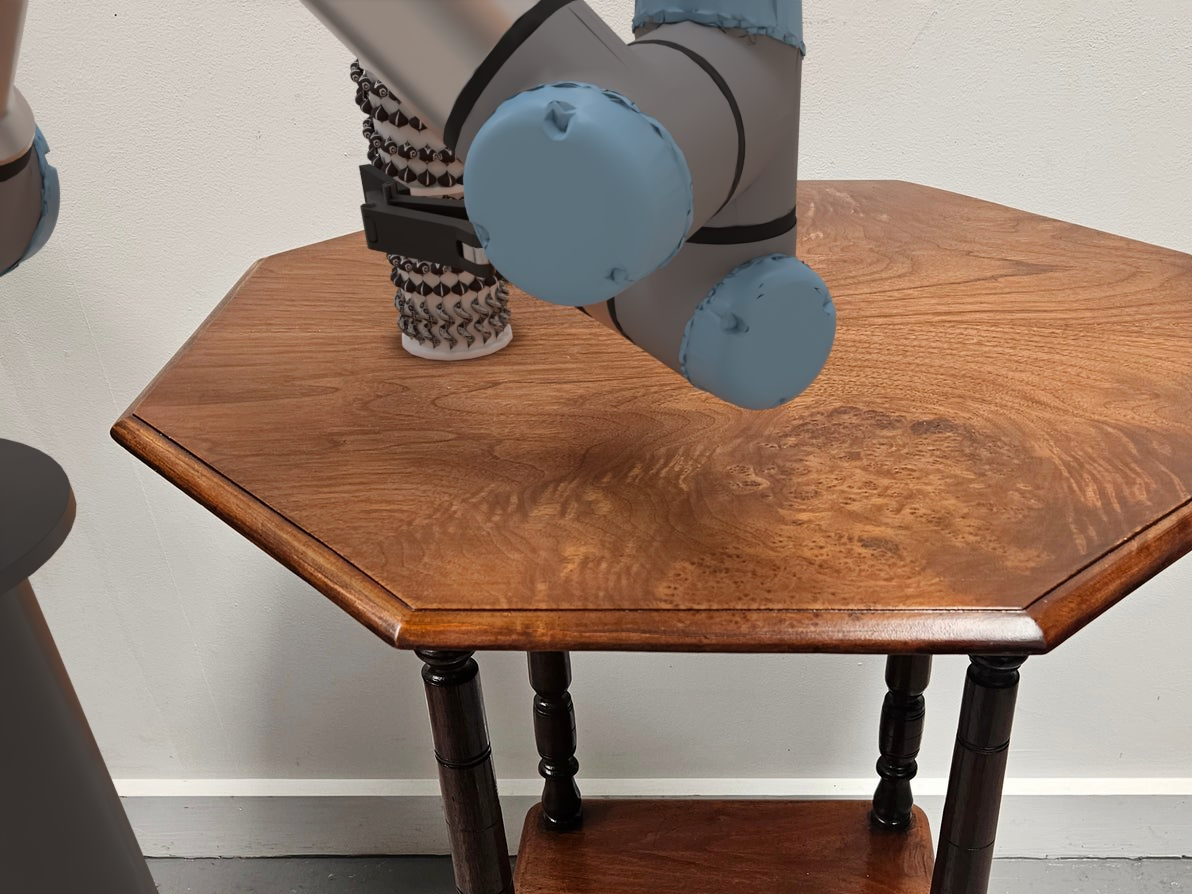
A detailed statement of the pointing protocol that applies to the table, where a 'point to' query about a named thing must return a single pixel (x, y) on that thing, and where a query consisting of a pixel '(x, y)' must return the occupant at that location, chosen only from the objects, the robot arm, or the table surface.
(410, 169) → the bracelet display cylinder
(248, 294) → the table surface
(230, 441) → the table surface
